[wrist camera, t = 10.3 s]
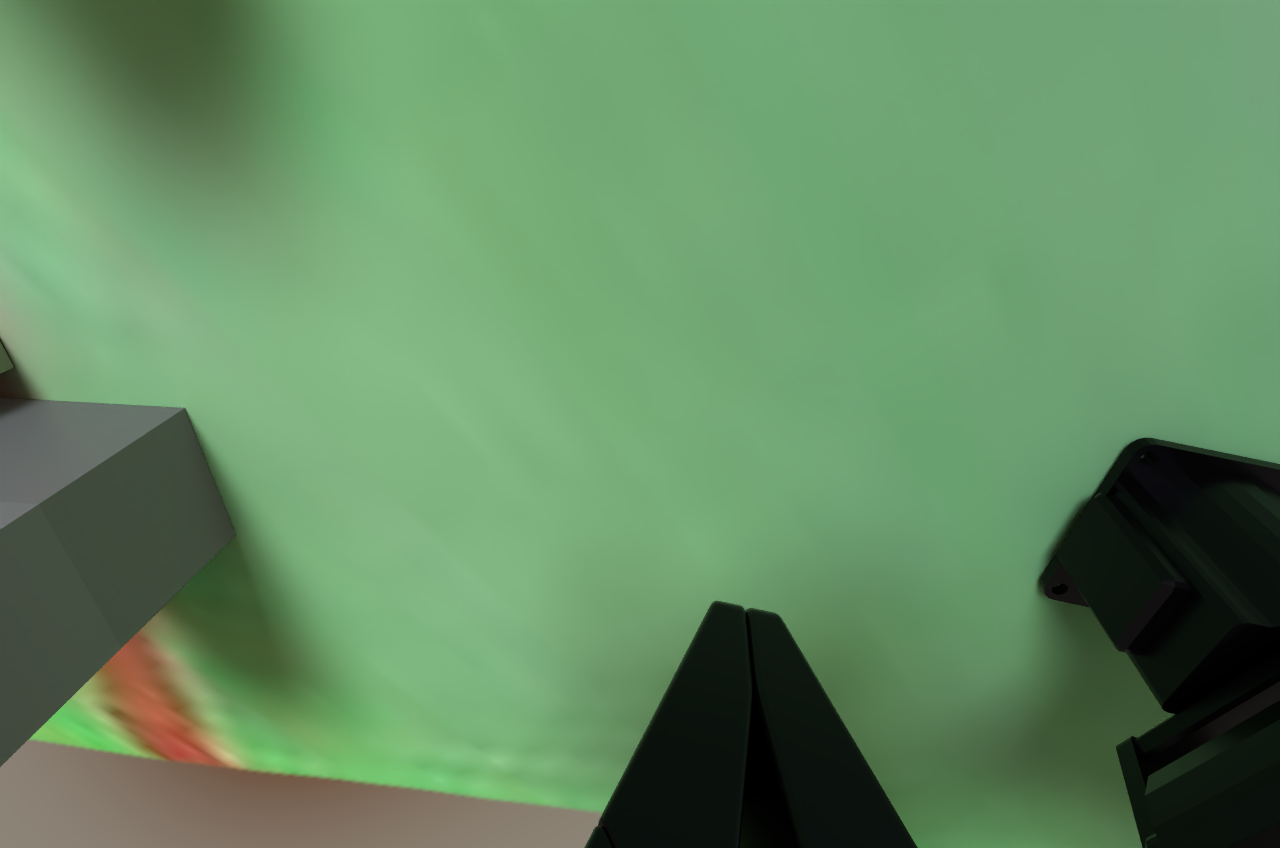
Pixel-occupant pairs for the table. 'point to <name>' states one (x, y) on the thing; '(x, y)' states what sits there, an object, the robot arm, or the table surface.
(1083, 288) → the table surface
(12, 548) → the grey block
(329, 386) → the table surface
